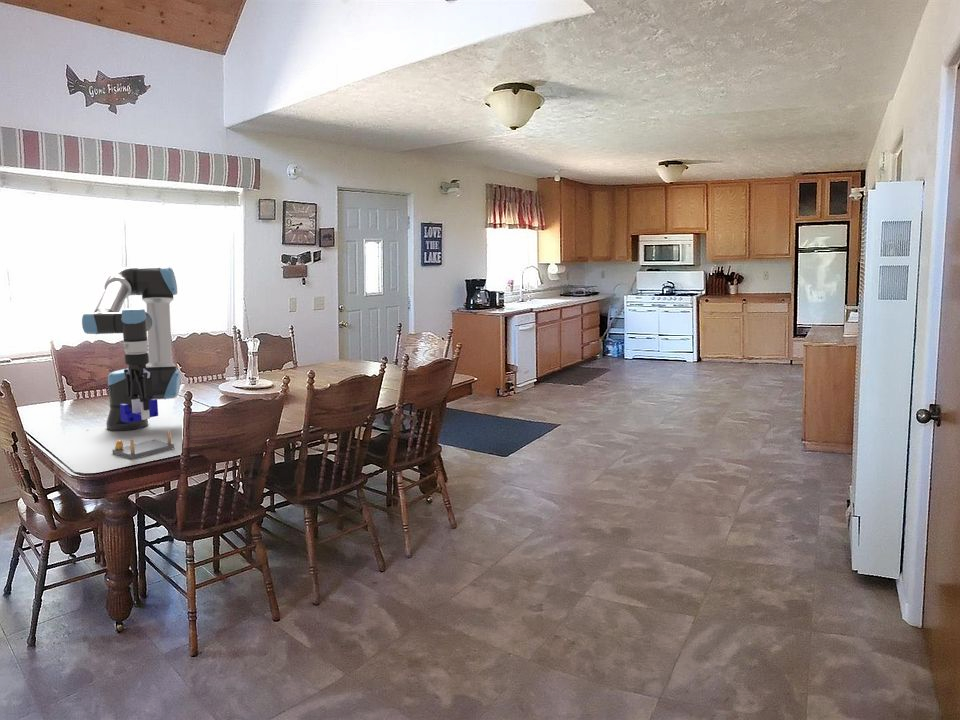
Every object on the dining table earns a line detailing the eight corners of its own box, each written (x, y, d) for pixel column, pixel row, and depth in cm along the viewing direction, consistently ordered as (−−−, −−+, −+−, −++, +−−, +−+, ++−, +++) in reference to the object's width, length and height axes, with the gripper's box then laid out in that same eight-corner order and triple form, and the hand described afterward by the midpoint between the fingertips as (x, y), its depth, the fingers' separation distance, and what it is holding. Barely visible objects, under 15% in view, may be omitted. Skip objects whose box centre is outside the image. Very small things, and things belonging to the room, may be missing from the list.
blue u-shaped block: (127, 422, 246) (126, 405, 245) (121, 421, 249) (119, 404, 248) (160, 416, 256) (159, 400, 255) (153, 414, 258) (152, 398, 257)
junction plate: (112, 453, 251) (111, 435, 250) (154, 443, 264) (153, 426, 263) (132, 459, 244) (130, 440, 243) (174, 448, 258) (173, 430, 257)
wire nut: (113, 447, 251) (114, 440, 250) (120, 447, 253) (121, 439, 252) (117, 449, 249) (118, 442, 249) (123, 449, 251) (125, 441, 251)
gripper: (111, 352, 250) (117, 416, 254) (140, 356, 241) (145, 423, 244) (132, 349, 257) (137, 412, 260) (161, 353, 247) (165, 419, 251)
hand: (141, 417), depth 252 cm, fingers closed on blue u-shaped block, 5 cm apart
